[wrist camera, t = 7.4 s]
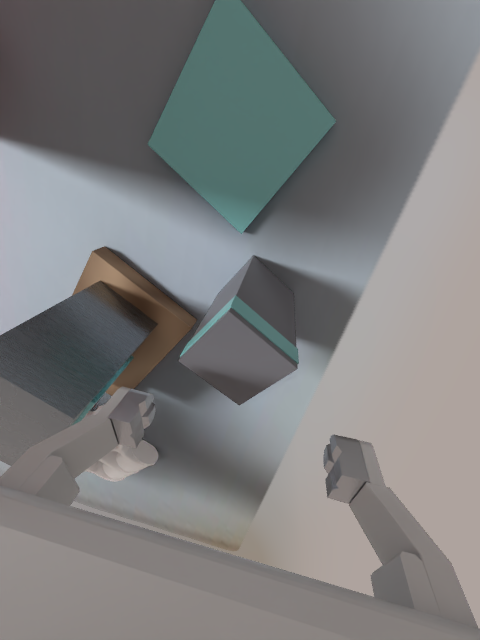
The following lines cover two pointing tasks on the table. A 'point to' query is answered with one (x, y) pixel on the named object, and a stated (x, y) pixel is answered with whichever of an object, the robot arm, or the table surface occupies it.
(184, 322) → the board
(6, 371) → the panel
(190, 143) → the pad
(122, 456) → the white brass knuckles
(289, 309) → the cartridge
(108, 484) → the table surface
